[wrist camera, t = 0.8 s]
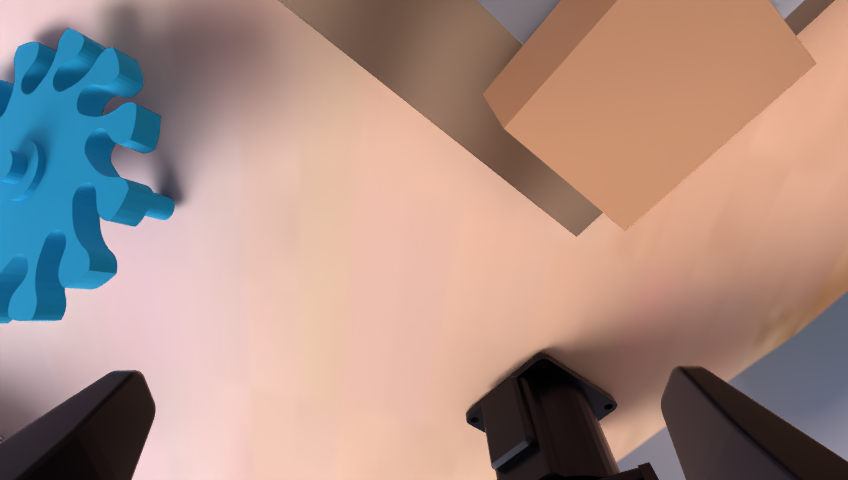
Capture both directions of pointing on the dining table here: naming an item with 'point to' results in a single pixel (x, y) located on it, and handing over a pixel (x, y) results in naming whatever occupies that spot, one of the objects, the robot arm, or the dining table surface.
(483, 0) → the base
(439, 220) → the dining table surface
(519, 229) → the dining table surface
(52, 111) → the gear
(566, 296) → the dining table surface
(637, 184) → the sliding jaw
